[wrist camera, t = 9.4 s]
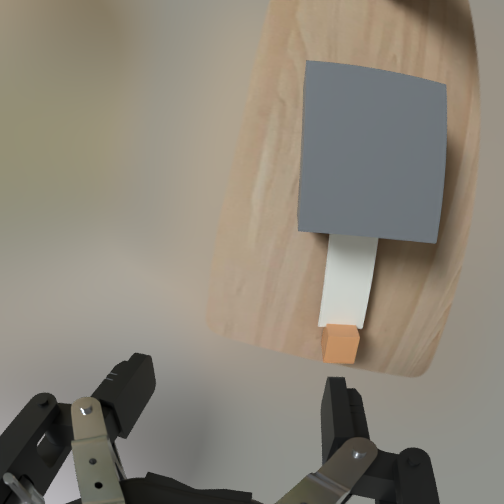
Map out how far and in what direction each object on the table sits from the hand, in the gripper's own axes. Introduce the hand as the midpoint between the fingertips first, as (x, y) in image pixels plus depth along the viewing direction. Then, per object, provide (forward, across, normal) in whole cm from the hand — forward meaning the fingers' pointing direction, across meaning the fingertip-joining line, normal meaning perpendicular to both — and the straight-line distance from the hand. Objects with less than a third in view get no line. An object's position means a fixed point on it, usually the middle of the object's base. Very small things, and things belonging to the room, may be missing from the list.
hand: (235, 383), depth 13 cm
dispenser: (+28, -10, -11) cm, 31 cm away
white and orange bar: (+27, -9, +5) cm, 29 cm away
